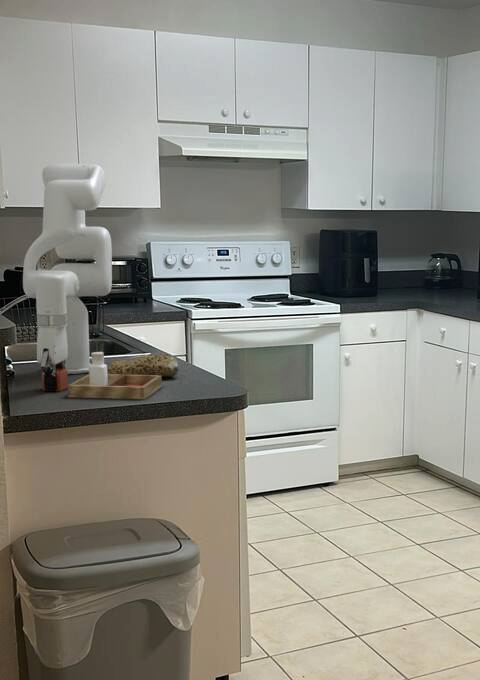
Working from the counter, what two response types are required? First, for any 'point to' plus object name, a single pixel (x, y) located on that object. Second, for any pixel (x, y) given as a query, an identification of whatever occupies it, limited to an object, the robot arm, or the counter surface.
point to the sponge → (146, 366)
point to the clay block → (59, 379)
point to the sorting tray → (117, 387)
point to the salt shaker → (98, 370)
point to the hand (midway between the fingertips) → (55, 387)
